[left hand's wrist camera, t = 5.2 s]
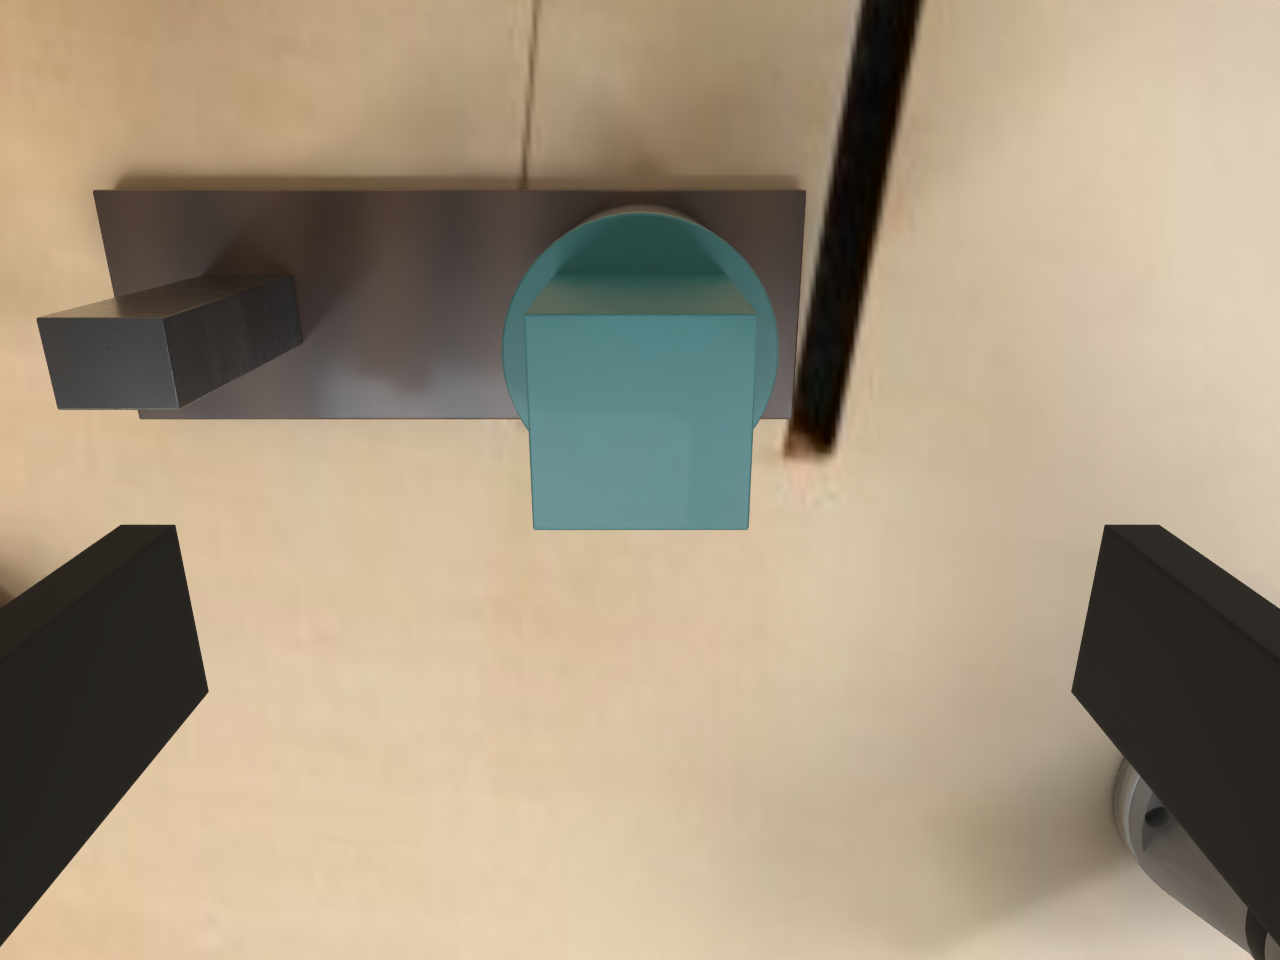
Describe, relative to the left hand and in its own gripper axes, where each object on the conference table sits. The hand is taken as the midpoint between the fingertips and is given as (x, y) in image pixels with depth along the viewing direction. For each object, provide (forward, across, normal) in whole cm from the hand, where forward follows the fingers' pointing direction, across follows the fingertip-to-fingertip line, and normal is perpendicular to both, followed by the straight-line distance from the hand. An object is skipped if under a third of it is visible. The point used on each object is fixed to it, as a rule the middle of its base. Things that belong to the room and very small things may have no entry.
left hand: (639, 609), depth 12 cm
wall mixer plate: (+29, +8, 0) cm, 30 cm away
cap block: (+18, 0, 0) cm, 18 cm away
